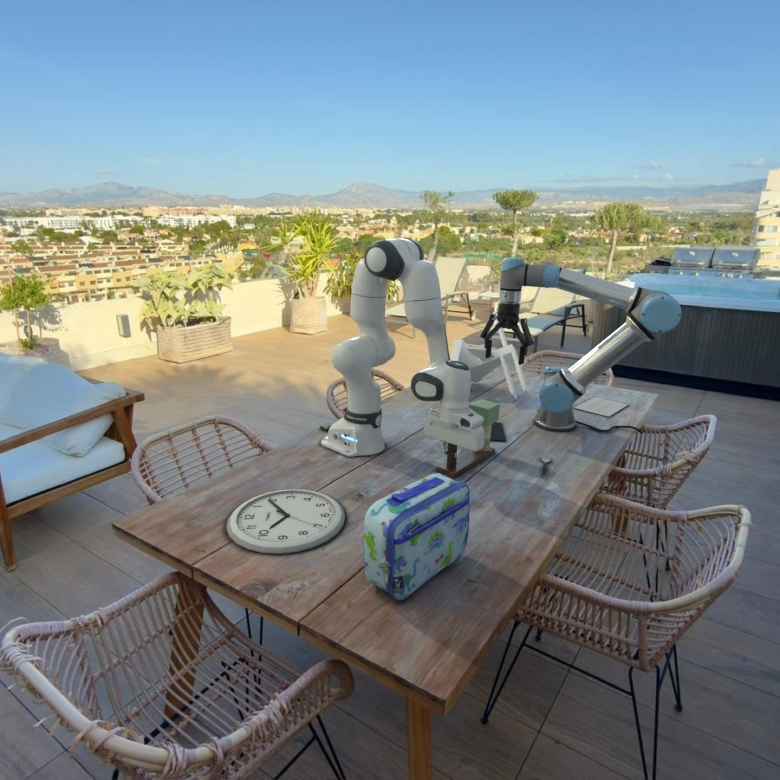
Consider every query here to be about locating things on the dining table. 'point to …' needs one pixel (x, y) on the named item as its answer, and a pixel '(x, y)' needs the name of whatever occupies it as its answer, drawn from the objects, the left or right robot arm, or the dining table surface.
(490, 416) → the sage green cube
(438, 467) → the caddy
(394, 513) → the lunch box
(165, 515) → the dining table surface
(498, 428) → the slate mat
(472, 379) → the white plastic object
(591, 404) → the invitation card
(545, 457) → the fork
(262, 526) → the wall clock
